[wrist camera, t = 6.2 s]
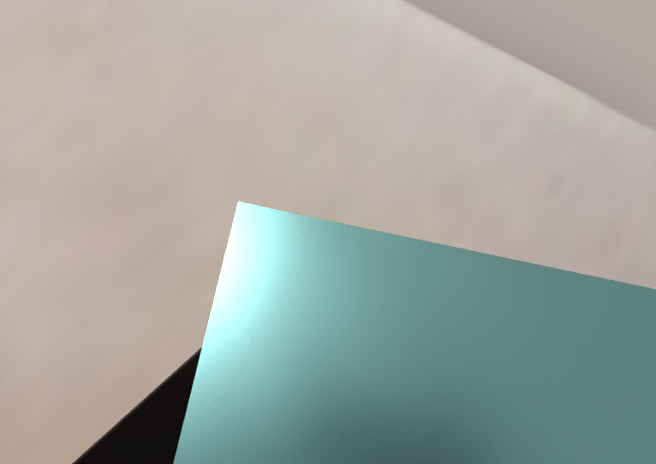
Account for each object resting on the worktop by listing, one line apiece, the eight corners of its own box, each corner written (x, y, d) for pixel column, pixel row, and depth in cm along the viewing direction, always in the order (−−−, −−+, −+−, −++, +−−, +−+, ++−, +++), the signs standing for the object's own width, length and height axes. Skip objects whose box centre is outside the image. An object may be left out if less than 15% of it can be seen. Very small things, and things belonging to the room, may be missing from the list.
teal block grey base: (422, 532, 14) (907, 1230, 3) (236, 495, 13) (20, 1081, 3) (449, 342, 15) (872, 334, 4) (277, 306, 15) (238, 201, 4)
